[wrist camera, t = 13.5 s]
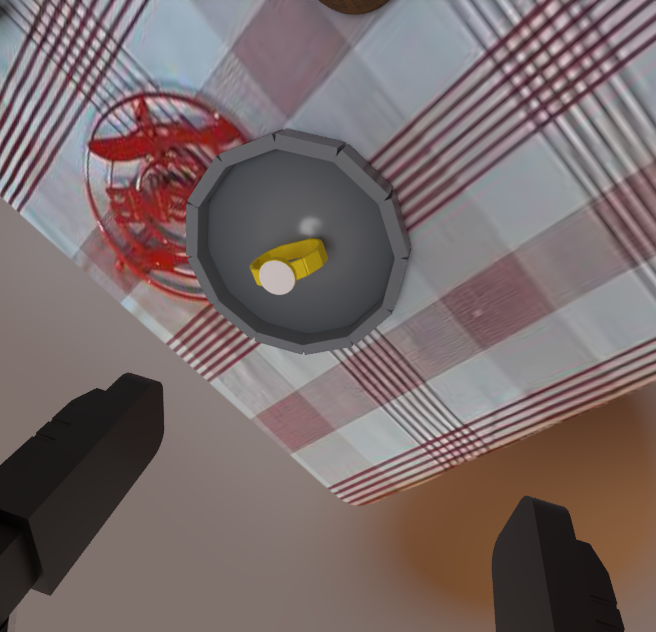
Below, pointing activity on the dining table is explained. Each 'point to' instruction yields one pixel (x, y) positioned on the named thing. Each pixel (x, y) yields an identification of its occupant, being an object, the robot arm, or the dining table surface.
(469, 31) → the dining table surface
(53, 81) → the dining table surface
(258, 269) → the watch
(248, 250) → the round dish
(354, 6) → the mortar and pestle
